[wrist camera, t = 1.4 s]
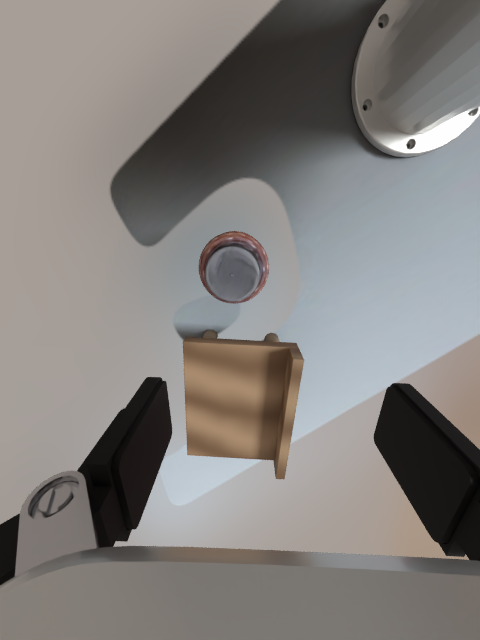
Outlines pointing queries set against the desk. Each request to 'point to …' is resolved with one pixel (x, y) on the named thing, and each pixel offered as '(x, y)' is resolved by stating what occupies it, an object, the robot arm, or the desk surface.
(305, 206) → the desk surface
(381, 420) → the robot arm
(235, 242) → the supplement bottle
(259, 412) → the peg shelf
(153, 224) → the desk surface
